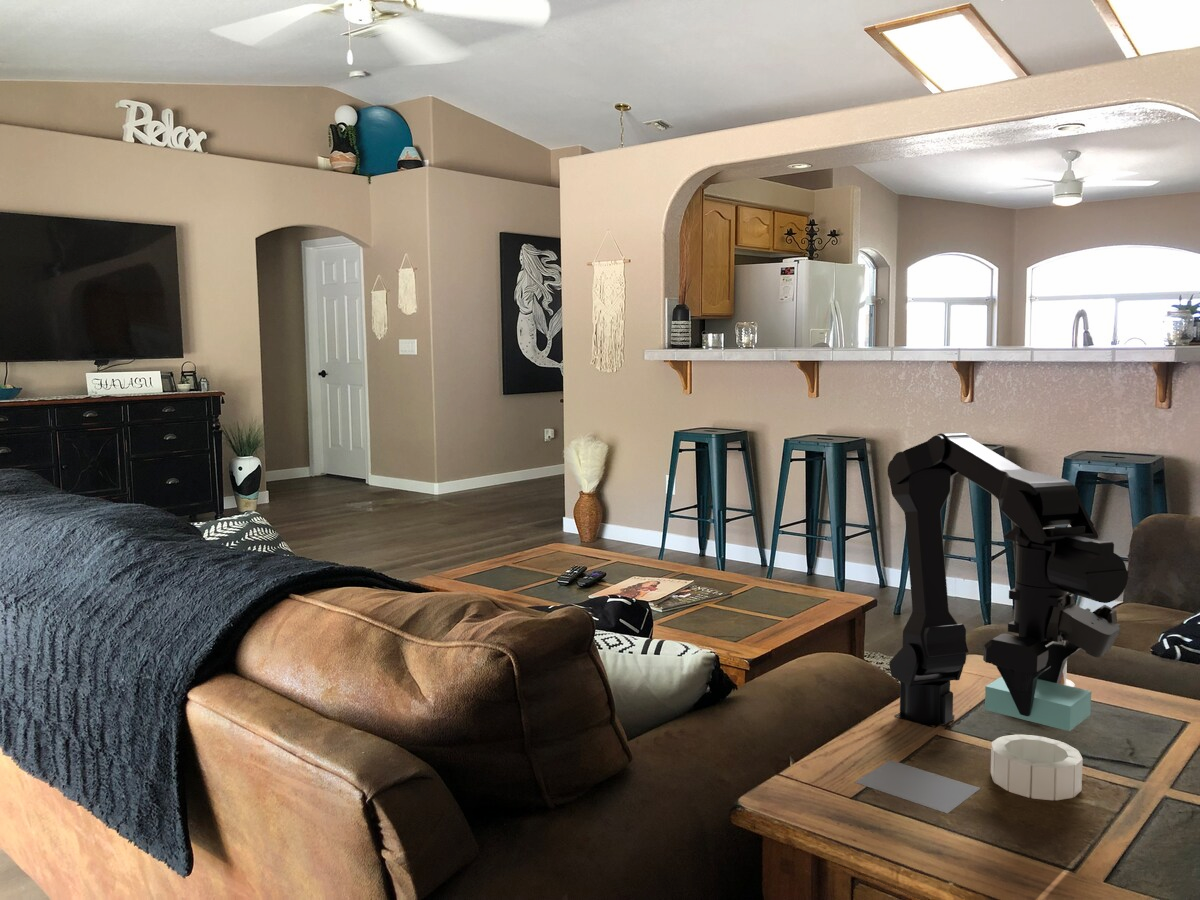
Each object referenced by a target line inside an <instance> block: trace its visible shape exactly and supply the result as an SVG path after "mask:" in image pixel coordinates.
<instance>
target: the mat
mask: <svg viewBox="0 0 1200 900" xmlns="http://www.w3.org/2000/svg"><path fill="white" fill-rule="evenodd" d="M854 783H856V784H858V785H860V786H865V787H866V788H867V787H868V788H870V789H873V790H876V791H879V792H881V793H885V794H888V795H890V796H893V797H896V798H899V799H903V800H905V801H908V802H912V803H915V804H917V805H921V806H923V807H927V808H929V809H932V810H933V811H934V810H935V811H938V812H941V813H944V814H946V815H948V814H949V813H950V812H952V811H953V810H955V809H956V808H958V806H960V805H961V804H963V803H964V802H965V801H966V800H968V799H970V798H971V796H973V795H974V794H977V792H979V790H981V789H982V788H981V787H979V786H975V785H972V784H970V783H965V782H962V781H959V780H956V779H953V778H949V777H947V776H943V775H940V774H937V773H934V772H930V771H928V770H924V769H921V768H917V767H913V766H911V765H908V764H905V763H902V762H898V761H896V760H892V759H890V760H887V762H885V763H882V764H881V765H879V766H878V767H876V768H875V769H873V770H872V771H870V772H868V773H867V774H865V775H863V776H862V777H860V778H859V779H857V780H855V781H854Z"/></svg>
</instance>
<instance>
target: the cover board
mask: <svg viewBox="0 0 1200 900" xmlns="http://www.w3.org/2000/svg"><path fill="white" fill-rule="evenodd" d="M984 691H985V693H984V694H985V696H984V710H985V711H990V712H993V713H996V714H1001V715H1005V716H1009V717H1011V718H1012V717H1013V718H1016V719H1020V720H1024V721H1028V722H1032V723H1036V724H1039V725H1044V726H1047V727H1051V728H1055V729H1059V730H1062V731H1066V732H1071V731H1072V730H1074V729H1075V728H1076V727H1077V726H1078V725H1079V724H1081V723H1082V722H1084V721H1085V720H1086V719H1087V718H1088V717H1090V716H1091V710H1092V709H1091V708H1092V707H1091V706H1092V690H1088V689H1085V688H1080V687H1076V686H1075V687H1071V686H1067V685H1062V684H1058V683H1053V682H1049V681H1044V680H1040V679H1037V685H1036V690H1035V695H1034V700H1033V705H1032V710H1031V714H1030V716H1024V715H1021V714H1020V713H1019V711H1018V709H1017V707H1016V705H1015V702H1014V700H1013V698H1012V696H1011V694H1010V692H1009V690H1008V688H1007V685H1006V683H1005V681H1004V680H1003V678H1002V676H999V678H997V679H995V680H993V681H992V682H990V683H988V684H987V685H985V689H984Z"/></svg>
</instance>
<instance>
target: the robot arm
mask: <svg viewBox="0 0 1200 900" xmlns="http://www.w3.org/2000/svg"><path fill="white" fill-rule="evenodd" d="M958 474H960V475H962V476H963V477H965V478H966V479H968V480H969V481H971V482H972V483H974V484H975V485H976V486H978V487H980V488H982V489H983V490H985V491H986V492H988V493H989V494H991V495H993V496H994V498H996V500H997V501H998V502H999V509H1000V510H1001V512H1002V513H1003V514H1004V515H1005V516H1006V517H1007V518H1008V519H1009V520H1010V521H1011V522H1012V523H1013V524H1014V525H1015V526H1014V527H1013V528H1012V529H1010V530H1008V532H1006V533H1005V534H1004V539H1005V540H1006V541H1010V542H1014V543H1016V550H1015V551H1016V552H1015V583H1014V588H1011V589H1009V590H1008V599H1009V600H1014V612H1013V613H1014V616H1013V620H1012V621H1010V622H1008V623H1007V633H1005V632H1004V633H1001V634H999V635H997V636H995V637H993V638H991V639H990V640H989V641H987V642H986V643H985V644H984V645H983V652H982V653H983V655H982V657H983V659H982V660H983V661H984V663H986V664H987V663H988V664H992V665H993V666H995V667H996V668H997V671H998V672H999V674H1000V675H1001V676H1000V677H1002V678H1003V680H1004V681H1005V683H1006V685H1007V688H1008V690H1009V692H1010V694H1011V696H1012V698H1013V700H1014V702H1015V705H1016V707H1017V709H1018V711H1019V713H1020V714H1021V715H1024V716H1030V714H1031V710H1032V705H1033V700H1034V695H1035V690H1036V685H1037V679H1040V680H1044V681H1049V682H1053V683H1059V681H1060V678H1061V675H1062V672H1063V669H1064V666H1065V663H1066V661H1067V662H1068V658H1070V656H1072V655H1074V654H1075V653H1076V652H1077V651H1079V650H1083V651H1085V653H1086V654H1088V655H1089V656H1091V657H1094V658H1098V659H1099V658H1101V657H1103V656H1104V655H1105V654H1106V653H1109V652H1110V651H1111V649H1112V647H1113V645H1114V643H1115V640H1116V639H1117V637H1118V636H1120V635H1121V628H1120V627H1121V625H1122V624H1120V623H1118V616H1117V610H1116V609H1114V608H1112V607H1110V606H1108V605H1106V604H1108V603H1111V602H1113V601H1116V600H1118V598H1119V597H1120V596H1121V595H1122V594H1123V592H1124V591H1125V589H1126V586H1127V584H1128V580H1129V571H1128V569H1127V566H1126V563H1125V562H1124V560H1123V558H1122V557H1121V556H1120V555H1118V554H1117V553H1116V552H1115V551H1114V550H1115V544H1114V542H1113V541H1109V540H1099V539H1098V538H1099V536H1098V533H1097V530H1096V528H1095V526H1094V525H1095V524H1094V522H1093V521H1092V520H1091V518H1090V516H1089V514H1088V512H1087V510H1086V508H1085V505H1084V504H1083V502H1082V501H1083V500H1082V499H1081V498H1080V496H1079V494H1078V489H1077V486H1076V485H1075V484H1074V483H1073V482H1071V481H1069V480H1067V479H1065V478H1063V477H1062V478H1061V477H1059V476H1055V475H1052V474H1050V473H1049V474H1048V473H1043V472H1036V471H1030V470H1027V469H1024V468H1022V467H1020V466H1019V465H1018V464H1015V463H1014V462H1012V461H1010V460H1009V459H1007V458H1005V457H1004V456H1002V455H1000V454H998V453H996V452H995V451H993V450H992V449H990V448H989V447H986V446H985V445H983V444H982V443H980V442H978V441H976V440H975V439H974V437H973V436H972V435H971V434H968V433H965V432H962V431H961V432H941V433H937V435H933V436H932V437H931V438H929V439H928V440H927V441H924V442H921V443H919V444H917V445H914V446H911V447H909V448H908V449H907V448H906V449H905V450H903V451H898V452H896V454H894V455H893V457H892V459H891V460H890V461H889V462H888V465H887V477H888V480H889V484H890V490H891V495H892V497H893V498H894V500H895V501H896V502H897V504H898V505H899V507H900V509H901V510H902V511H903V512H904V521H905V531H906V534H905V535H906V545H907V558H908V569H909V581H910V582H909V583H910V593H911V595H910V597H911V609H912V612H911V614H910V616H909V618H908V619H907V622H906V624H905V626H904V629H903V630H902V647H901V648H900V650H899V651H897V652H896V654H894V656H893V658H891V660H890V661H889V663H888V665H889V670H890V676H891V677H892V678H893V679H895V680H896V681H899V684H900V685H899V712H898V713H897V714H894V715H893V716H894V718H897V719H901V720H905V721H908V722H911V723H914V724H919V725H921V726H926V727H929V728H933V729H934V728H935V729H936V728H938V727H943V726H945V725H946V724H948V723H950V722H952V721H954V720H955V715H954V714H953V713H954V712H953V710H954V707H953V706H954V693H953V691H951V681H960V679H961V676H962V673H963V669H964V665H966V661H967V655H968V654H967V653H969V652H970V651H969V648H968V645H967V639H966V638H967V629H966V627H965V625H964V624H963V623H958V622H957V621H956V619H955V618H954V616H953V615H952V614H951V612H950V609H949V607H950V606H949V599H948V598H949V597H948V587H947V586H948V584H947V574H946V572H947V571H946V562H945V561H946V559H945V548H944V538H943V537H944V535H943V526H942V525H943V524H942V512H941V511H942V509H943V507H944V505H945V503H946V501H947V499H948V497H949V495H950V493H951V481H952V478H953V477H954V476H956V475H958ZM1075 595H1076V596H1077V597H1078V596H1079V597H1082V598H1085V599H1088V600H1092V601H1095V602H1096V603H1097V602H1098V603H1101V604H1102V603H1103V605H1101V606H1100V607H1098V608H1097V609H1095V610H1094V611H1091V609H1090V608H1089V607H1087V608H1083V607H1080V606H1078V605H1076V603H1075V602H1076V596H1075ZM1009 633H1014V634H1018V635H1014V634H1009Z"/></svg>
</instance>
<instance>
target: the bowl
mask: <svg viewBox="0 0 1200 900" xmlns="http://www.w3.org/2000/svg"><path fill="white" fill-rule="evenodd" d="M990 748H991V749H990V750H991V751H990V776H991V778H992V781H993V783H994V784H996V785H997V786H999V787H1001V788H1002V789H1004V790H1005V791H1008V793H1009V792H1010V793H1012V794H1016V795H1018V796H1022V797H1025V798H1029V799H1030V798H1031V799H1034V800H1035V799H1037V800H1046V801H1060V800H1067V799H1072V798H1076V796H1077V795H1078V794H1080V793H1081V792H1082V788H1083V785H1082V784H1083V764H1084V763H1083V759H1084V758H1083V757H1082V755H1081V753H1080V751H1079V750H1078V749H1077V748H1074V747H1073V746H1071V745H1069V743H1066V742H1063V741H1061V740H1056V739H1053V738H1049V737H1046V736H1040V735H1031V734H1016V733H1015V734H1010V735H1009V734H1008V735H1003V736H999V737H997V738H996V739H995V740H992V741H991V746H990Z"/></svg>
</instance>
